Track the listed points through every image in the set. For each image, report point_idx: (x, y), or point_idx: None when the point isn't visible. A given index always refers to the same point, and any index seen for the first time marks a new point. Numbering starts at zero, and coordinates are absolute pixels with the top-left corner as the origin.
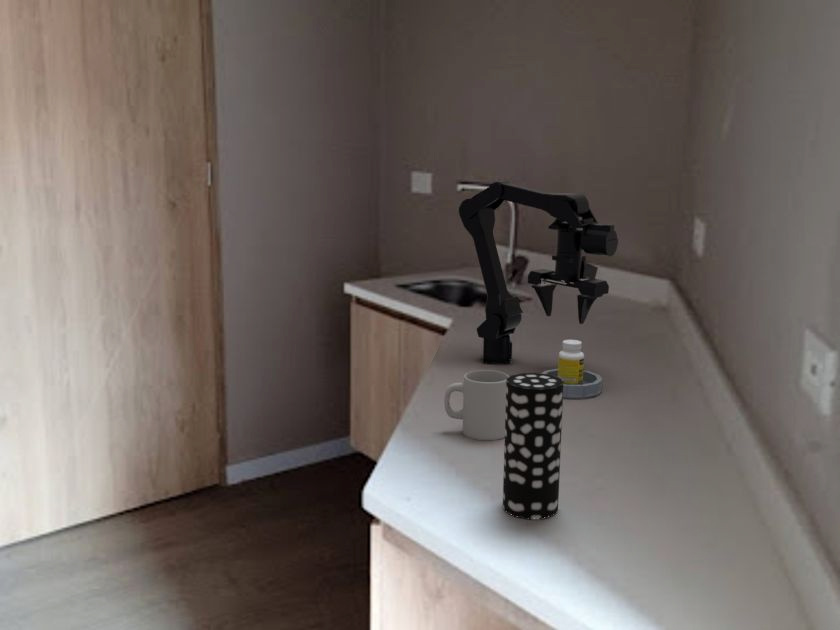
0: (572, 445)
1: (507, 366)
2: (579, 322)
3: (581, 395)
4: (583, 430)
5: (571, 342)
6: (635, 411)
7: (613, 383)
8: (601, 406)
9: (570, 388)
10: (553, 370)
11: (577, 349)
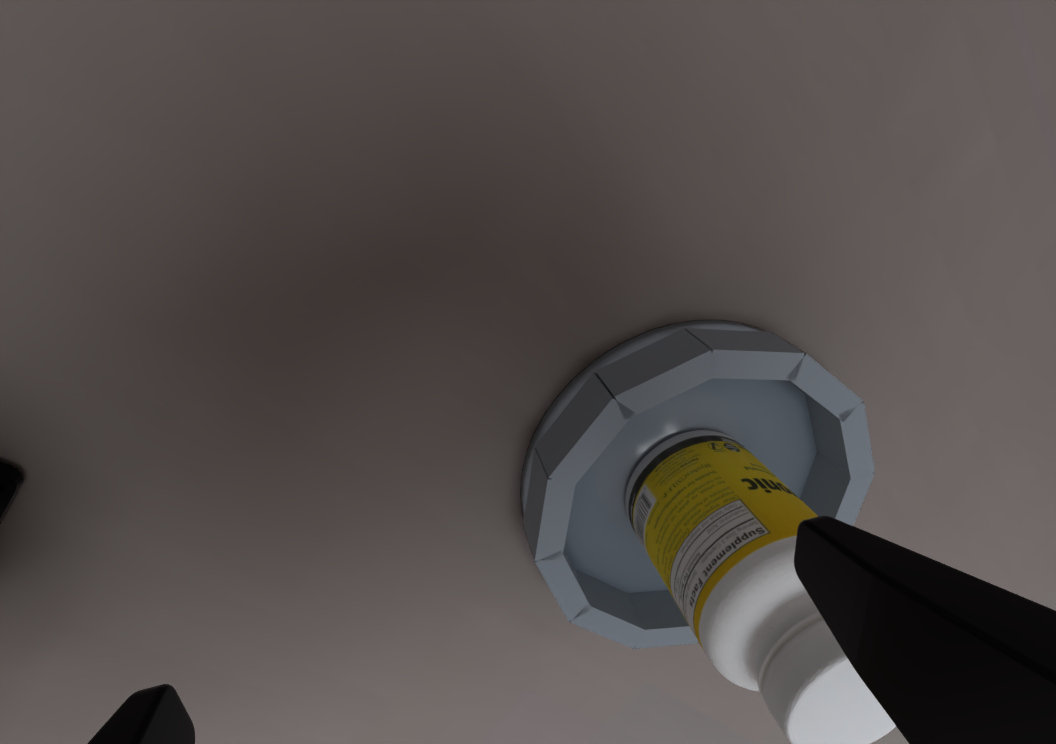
0: None
1: (79, 509)
2: (809, 589)
3: None
4: None
5: (863, 715)
6: (1033, 427)
7: (779, 186)
8: (903, 498)
9: None
10: (560, 521)
11: None
